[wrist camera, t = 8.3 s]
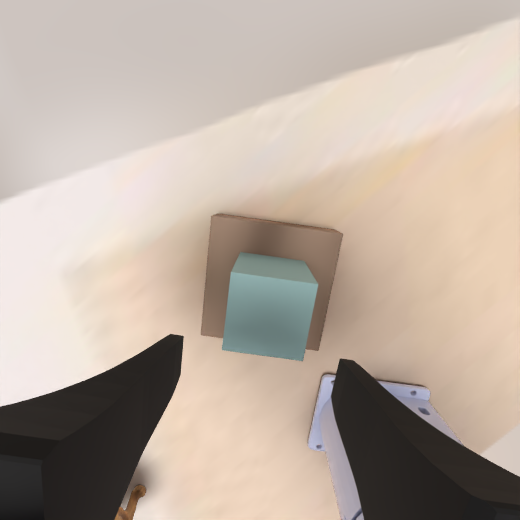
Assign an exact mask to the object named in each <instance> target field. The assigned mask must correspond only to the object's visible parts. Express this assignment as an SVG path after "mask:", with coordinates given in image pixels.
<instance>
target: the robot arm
mask: <svg viewBox="0 0 520 520" xmlns="http://www.w3.org/2000/svg"><path fill="white" fill-rule="evenodd" d="M183 338H184V336H180V335H173V334H170V335H168V336H166V337H165V338H163V339H162V340H160V341H158V342H157V343H155V344H154V345H152V346H151V347H149V348H147V349H146V350H144V351H142V352H141V353H139V354H137V355H136V356H134V357H132V358H130V359H128V360H127V361H125V362H123V363H121V364H119V365H118V366H116V367H114V368H112V369H110V370H108V371H106V372H103V373H101V374H99V375H97V376H94V377H92V378H90V379H87V380H85V381H82V382H80V383H77V384H74V385H72V386H69V387H66V388H64V389H61V390H58V391H55V392H52V393H49V394H46V395H43V396H39V397H36V398H32V399H29V400H25V401H22V402H18V403H14V404H10V405H6V406H2V407H0V520H115V517H116V515H117V512H118V510H119V508H120V505H121V503H122V500H123V498H124V495H125V493H126V490H127V488H128V485H129V483H130V481H131V478H132V476H133V474H134V471H135V469H136V467H137V464H138V462H139V460H140V457H141V455H142V453H143V451H144V449H145V447H146V445H147V443H148V441H149V439H150V437H151V436H152V434H153V432H154V430H155V428H156V426H157V424H158V422H159V420H160V419H161V417H162V415H163V413H164V411H165V409H166V407H167V405H168V403H169V402H170V400H171V398H172V396H173V393H174V390H175V388H176V385H177V383H178V380H179V377H180V374H181V362H182V350H183ZM332 380H335V381H334V382H331V381H332ZM411 391H413V392H411ZM429 397H430V391H429V390H428V389H427V388H426V387H421V386H413V385H406V384H398V383H391V382H383V381H376V380H375V379H374V378H373V377H372V376H371V375H370V374H369V373H367V372H366V371H365V370H364V369H363V368H362V367H361V366H360V365H358V364H357V363H356V362H355V361H353V360H347V359H340V361H339V365H338V369H337V373H336V375H330V374H326V375H324V376H323V377H322V380H321V384H320V389H319V393H318V398H317V403H316V407H315V412H314V416H313V421H312V425H311V430H310V434H309V439H308V447H309V448H310V449H312V450H318V451H325V452H326V456H327V461H328V465H329V469H330V474H331V478H332V482H333V487H334V491H335V495H336V499H337V504H338V508H339V512H340V517H341V520H520V477H519V476H517V475H515V474H513V473H511V472H509V471H507V470H505V469H503V468H502V467H500V466H498V465H496V464H494V463H492V462H490V461H489V460H487V459H485V458H483V457H482V456H480V455H478V454H476V453H475V452H473V451H471V450H469V449H468V448H466V447H465V446H464V445H463V444H462V443H461V441H460V440H459V439H458V438H457V436H456V435H455V434H454V433H453V431H452V430H451V429H450V428H449V426H448V425H447V424H446V423H445V421H444V420H443V419H442V418H441V416H440V415H439V414H438V413H437V411H436V410H435V409H434V408H433V406H432V405H431V404H430V403H429V401H428V400H429ZM318 444H320V445H318Z"/></svg>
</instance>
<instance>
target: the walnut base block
mask: <svg viewBox="0 0 520 520" xmlns="http://www.w3.org/2000/svg"><path fill="white" fill-rule="evenodd" d="M342 237H343V234H342V233H340V232H338V231H336V230H333V229H326V228H319V227H312V226H304V225H297V224H290V223H282V222H275V221H268V220H261V219H253V218H246V217H239V216H231V215H224V214H216V215H213V216H211V226H210V237H209V248H208V260H207V271H206V282H205V293H204V305H203V316H202V327H201V335H203V336H211V337H218V338H223V336H224V327H225V319H226V310H227V301H228V293H229V284H230V276H231V271H232V269H233V267H234V265H235V262H236V260H237V258H238V256H239V254H240V252H244V253H251V254H258V255H265V256H272V257H280V258H287V259H294V260H301V261H305V263H306V265H307V266H308V268H309V270H310V271H311V273H312V275H313V276H314V278H315V280H316V281H317V283H318V288H317V293H316V298H315V303H314V308H313V313H312V318H311V323H310V328H309V333H308V338H307V343H306V348H305V349H308V350H316V351H318V350H319V346H320V341H321V336H322V331H323V327H324V322H325V317H326V313H327V308H328V303H329V298H330V294H331V289H332V284H333V279H334V275H335V270H336V265H337V260H338V256H339V251H340V246H341V241H342Z"/></svg>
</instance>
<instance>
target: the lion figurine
mask: <svg viewBox="0 0 520 520" xmlns="http://www.w3.org/2000/svg"><path fill="white" fill-rule="evenodd" d="M145 493H146V488H145V487H144V486H142V485H137V486H136V487H135V488H134V490H133V491H132V492H131V496H130V499H129V502H128V505H127V508H126V510H125V511H124V510H123V509H122V508H121V507H120V508H119V510H118V512H117V515H116V517H115V520H133V516H134V513H135V510H136V505H137V501H138V499H139V498H140V497H143V496H144V495H145Z"/></svg>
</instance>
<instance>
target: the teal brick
mask: <svg viewBox="0 0 520 520" xmlns="http://www.w3.org/2000/svg"><path fill="white" fill-rule="evenodd" d="M317 288H318V283H317V281H316V280H315V278H314V276H313V275H312V273H311V271H310V270H309V268H308V266H307V265H306V263H305V261H301V260H294V259H287V258H280V257H272V256H265V255H258V254H251V253H244V252H240V254H239V256H238V258H237V260H236V262H235V265H234V267H233V269H232V271H231V276H230V284H229V293H228V301H227V310H226V319H225V327H224V336H223V345H222V350H225V351H233V352H240V353H247V354H255V355H262V356H269V357H277V358H284V359H291V360H299V361H303V358H304V353H305V348H306V343H307V338H308V333H309V328H310V323H311V318H312V313H313V308H314V303H315V298H316V293H317Z"/></svg>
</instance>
